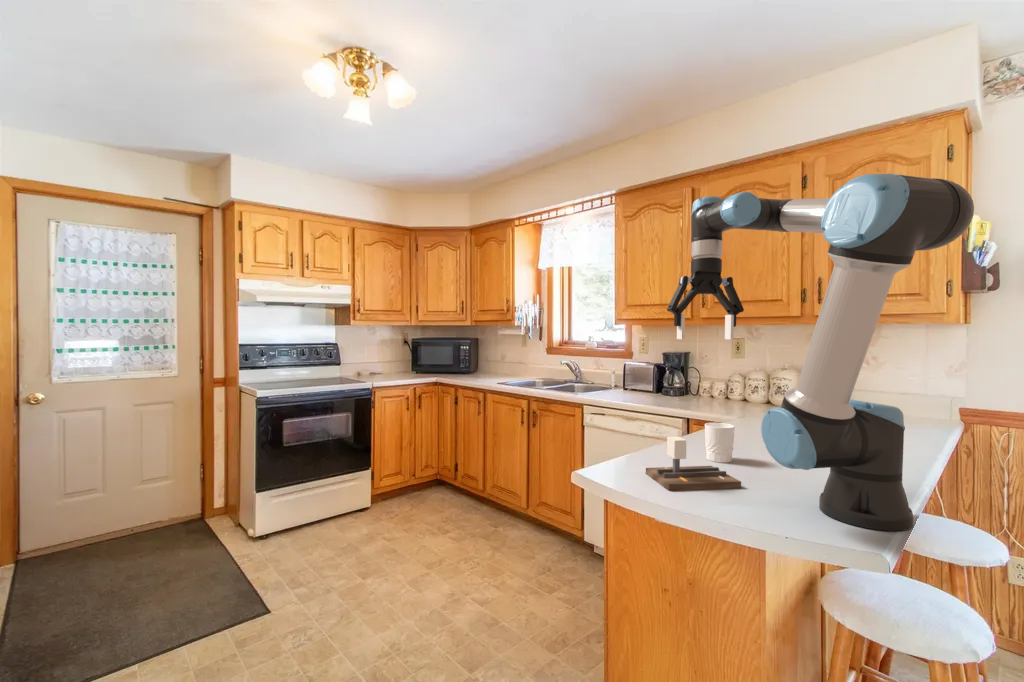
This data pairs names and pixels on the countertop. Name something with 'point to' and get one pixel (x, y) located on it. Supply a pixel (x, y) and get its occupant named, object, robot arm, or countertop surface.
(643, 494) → the countertop surface
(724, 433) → the white cup
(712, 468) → the board
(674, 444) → the block
